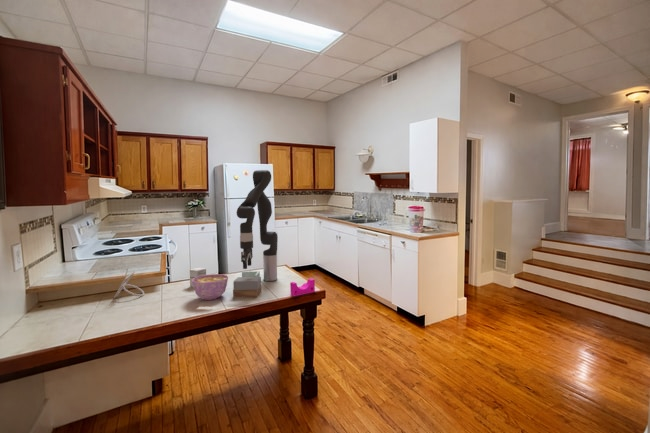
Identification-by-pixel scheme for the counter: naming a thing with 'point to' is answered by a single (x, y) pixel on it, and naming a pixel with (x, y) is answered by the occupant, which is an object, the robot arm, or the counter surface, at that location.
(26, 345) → the counter surface
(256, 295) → the tower bottom
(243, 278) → the tower top
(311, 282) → the toy block
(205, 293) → the bowl of food
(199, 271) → the supplement box
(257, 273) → the right angle wall
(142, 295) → the wire frame
